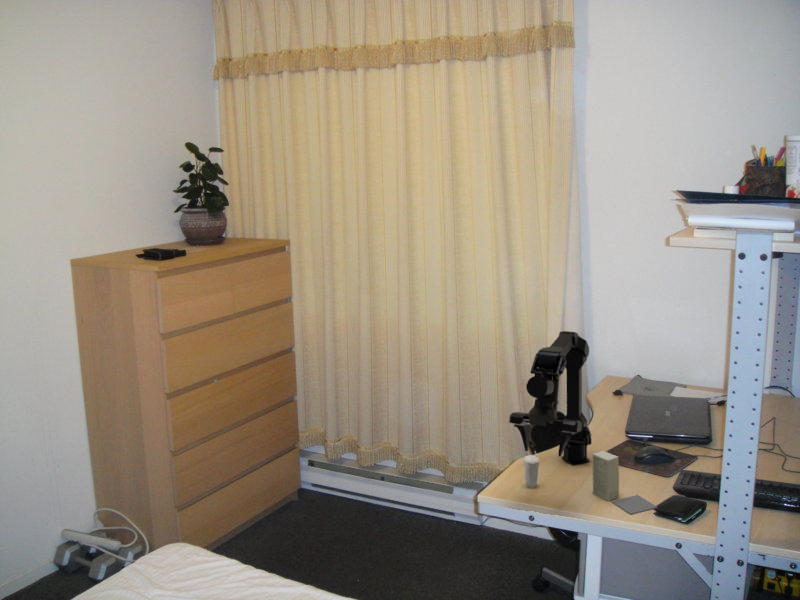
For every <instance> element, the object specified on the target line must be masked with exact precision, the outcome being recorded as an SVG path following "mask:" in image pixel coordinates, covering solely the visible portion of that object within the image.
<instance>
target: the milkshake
mask: <svg viewBox="0 0 800 600" xmlns="http://www.w3.org/2000/svg"><path fill="white" fill-rule="evenodd" d="M542 455H543V454H541V455H540V457H537V456H536V455H530V454H529V455H525V457H523V468H524V479H525V480H524V481H525V487H526V488H529V489H534V488H536V487H538V480H539V479H538V478H539V466H540V460H541V458H542Z"/></svg>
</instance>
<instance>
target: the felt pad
mask: <svg viewBox="0 0 800 600" xmlns="http://www.w3.org/2000/svg"><path fill="white" fill-rule="evenodd" d="M610 501H611V502H610V503H612V504H613V505H615V506H617V507H618V508H619V509H621V510H623V512H626V513H627V514H629V515H635V514H638V513H639V514H640V513H643V512H646V511H650V510H656V509H658V506H657V505H655V504H653V503H652V502H650V501H649V500H646V499H645V498H643V497H642V496H640V495H638V494H635V495H631V496H627V497H623V498H619V499H618V498H617V499H613V500H610Z"/></svg>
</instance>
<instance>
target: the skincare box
mask: <svg viewBox="0 0 800 600" xmlns="http://www.w3.org/2000/svg"><path fill="white" fill-rule="evenodd" d="M591 458H592V494H593V495H594V496H597V497H599V498H601V499H602V500H606V501H608V502H609V501H613V500H616V499H618V498H619V497H620V492H619V491H620V480H619V477H620V476H619V473H620V470H619V469H620V468H619V461H620V460H619V458H620V457H619V455H615V454H613V453H611V452H608V451H605V450H600V451H596V452H593V453H592V457H591Z"/></svg>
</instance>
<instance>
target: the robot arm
mask: <svg viewBox="0 0 800 600" xmlns="http://www.w3.org/2000/svg"><path fill="white" fill-rule="evenodd" d="M589 354H590V345H589V344H588V341H587V340H586V339H585V338H583V337H582V336H579V334H578V332H576V331H567V330H563V331H560V332H559V334H558V336H557V337H556V339H555V340H554V341H553V342H552V344H551V345H550V346H548V347H547V346H546V347H542V348H540V349H539V350H538V351H537V353H535V356H534V359H533V362H532V366H531V369H530V374H531V375H532V374H533V375H534V376H532V377H530V378H529V379H528V380H527V383H526V385H525V386H526V391H527V393H528V394H529V395H530V397H532V398H535V401H534V404H533V406H532V408H531V409H530V410H529V411H528V412H522V411H515V412H511V413H510V415H509V421H508V423H509V424H513V427H514V428H517V429H518V431H519V434H520V436H521V440H522V443H523V447H524V451H525V452H528V451H529V447H530V431H531V429H530V428H531V425H532V426H534V425H535V426H540V427H546V426H547V427H548V426H549V427H555V428H559V436H560V438H559V439H560V440H559V448H558V452H557V453H558V455H557V457H560V458H561V459H562V460H564V461H565V462H567V463H569V464H570V465H572V466H577V465H580V464H584V463H585V464H586V463H589V462H590V461H591V460H590V459H589V458H588V455H587V454H588V446H590V445H592V433H591V430H590V427H588V419H587V418H586V416H585V415H584V413H583V410H582V409H583V408H582V407H583V405H582V404H583V400H582V398H583V397H582V395H583V394H582V393H583V389H582V387H583V385H582V384H583V383H582V382H583V380H582V379H583V376H582V375H583V372H582V368H583V366H585V364H586V362H587V360H588V357H589ZM565 370H566V414H565V416H564V417H563V419H562V420H558V414H557V413H558V405H559V391H560V390H559V387H560V377H561V375H563V374H564V371H565ZM562 454H563V455H562Z"/></svg>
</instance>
